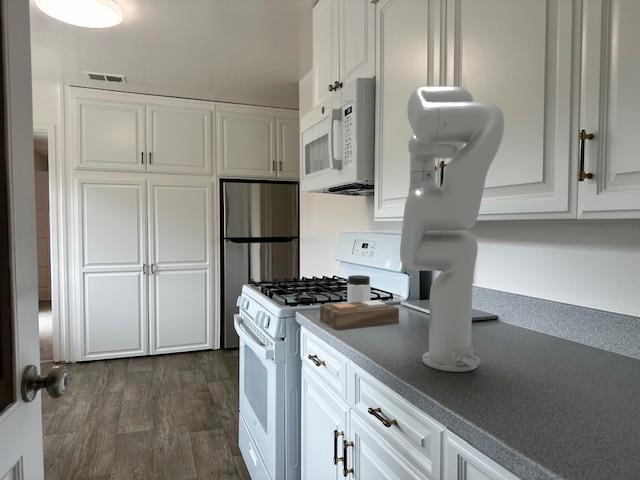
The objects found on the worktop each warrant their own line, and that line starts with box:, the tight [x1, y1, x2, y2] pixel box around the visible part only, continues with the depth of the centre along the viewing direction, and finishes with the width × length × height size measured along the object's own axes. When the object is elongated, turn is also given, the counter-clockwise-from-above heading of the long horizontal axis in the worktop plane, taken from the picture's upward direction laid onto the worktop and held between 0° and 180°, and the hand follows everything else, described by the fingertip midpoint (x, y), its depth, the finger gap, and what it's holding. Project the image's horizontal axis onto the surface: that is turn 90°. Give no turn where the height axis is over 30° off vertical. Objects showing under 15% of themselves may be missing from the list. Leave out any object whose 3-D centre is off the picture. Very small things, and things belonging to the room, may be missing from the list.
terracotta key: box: [332, 302, 356, 311], centre depth 139 cm, size 6×6×4 cm
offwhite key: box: [361, 300, 387, 308], centre depth 143 cm, size 6×6×4 cm
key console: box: [319, 301, 400, 331], centre depth 141 cm, size 14×22×5 cm, turn 113°
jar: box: [346, 274, 372, 303], centre depth 163 cm, size 9×8×12 cm
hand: (421, 237), depth 133 cm, fingers closed
